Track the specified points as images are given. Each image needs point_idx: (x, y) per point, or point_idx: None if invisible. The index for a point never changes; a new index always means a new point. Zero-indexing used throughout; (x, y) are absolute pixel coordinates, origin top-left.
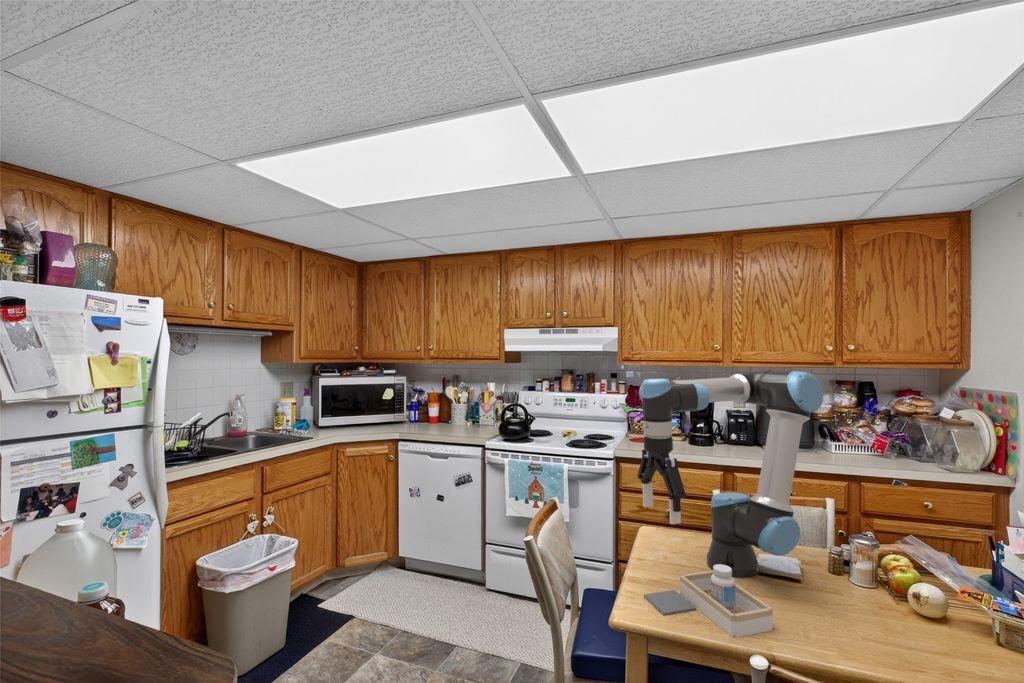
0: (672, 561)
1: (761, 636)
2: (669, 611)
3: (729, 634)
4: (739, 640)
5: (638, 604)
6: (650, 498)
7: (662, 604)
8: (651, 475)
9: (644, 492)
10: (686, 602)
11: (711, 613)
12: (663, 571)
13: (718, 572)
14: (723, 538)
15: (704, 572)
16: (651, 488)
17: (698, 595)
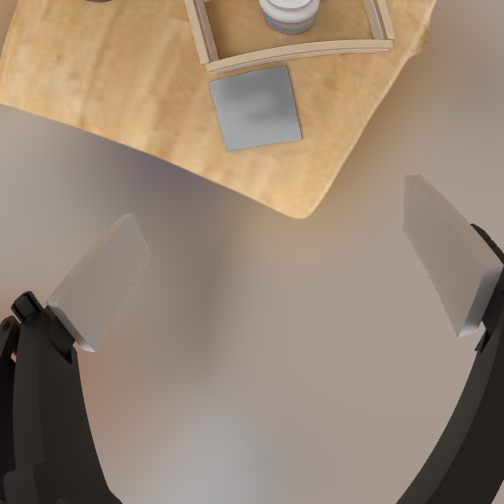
0: (88, 63)
1: None
2: (296, 124)
3: (376, 52)
4: None
5: (256, 170)
6: (117, 251)
7: (268, 128)
8: (52, 381)
9: (116, 310)
10: (263, 76)
11: (327, 53)
12: (125, 85)
13: (306, 5)
14: None
15: (191, 12)
16: (79, 283)
17: (282, 56)
